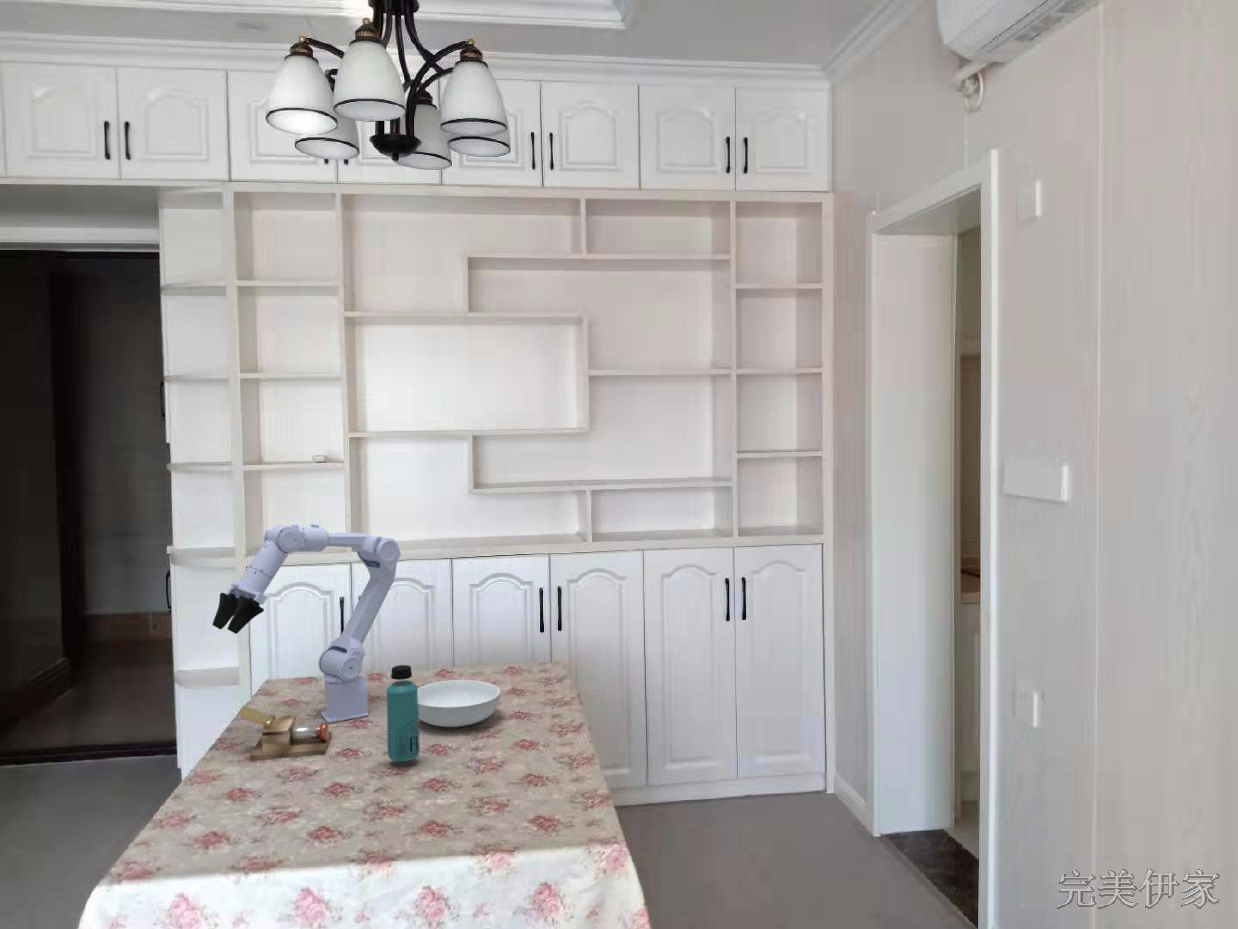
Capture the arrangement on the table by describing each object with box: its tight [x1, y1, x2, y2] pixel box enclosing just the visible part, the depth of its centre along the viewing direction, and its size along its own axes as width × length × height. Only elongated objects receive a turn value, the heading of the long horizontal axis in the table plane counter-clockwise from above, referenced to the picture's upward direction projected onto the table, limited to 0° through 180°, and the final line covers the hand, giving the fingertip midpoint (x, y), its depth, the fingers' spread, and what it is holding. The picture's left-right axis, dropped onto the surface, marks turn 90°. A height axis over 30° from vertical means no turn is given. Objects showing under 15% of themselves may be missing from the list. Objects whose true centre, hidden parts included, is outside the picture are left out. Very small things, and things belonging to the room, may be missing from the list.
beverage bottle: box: [386, 664, 421, 762], centre depth 177 cm, size 6×7×20 cm
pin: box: [290, 721, 329, 741], centre depth 186 cm, size 10×4×4 cm, turn 101°
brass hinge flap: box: [236, 705, 274, 726], centre depth 184 cm, size 7×4×1 cm, turn 101°
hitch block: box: [249, 714, 333, 761], centre depth 186 cm, size 15×11×6 cm
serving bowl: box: [417, 679, 501, 728], centre depth 202 cm, size 21×21×7 cm
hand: (224, 629), depth 184 cm, fingers open, 7 cm apart
